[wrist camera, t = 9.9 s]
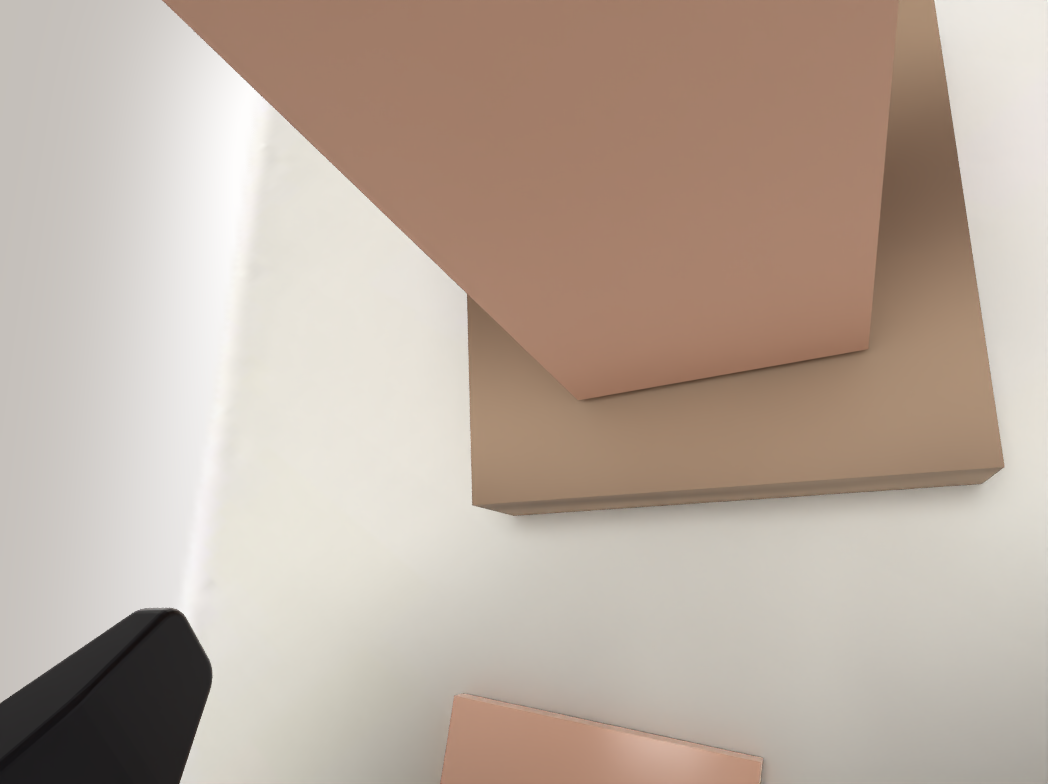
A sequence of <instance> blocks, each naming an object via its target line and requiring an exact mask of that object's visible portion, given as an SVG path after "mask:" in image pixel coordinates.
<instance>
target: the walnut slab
mask: <svg viewBox="0 0 1048 784" xmlns="http://www.w3.org/2000/svg"><path fill="white" fill-rule="evenodd" d="M467 310H468V350H469V389H470V429H471V469H472V505H473V506H477V507H481V508H485V509H489V510H493V511H497V512H501V513H505V514H509V515H513V516H516V515H531V514H546V513H560V512H575V511H590V510H605V509H619V508H634V507H649V506H663V505H678V504H693V503H708V502H722V501H737V500H752V499H766V498H781V497H796V496H811V495H825V494H840V493H855V492H869V491H884V490H899V489H914V488H928V487H943V486H958V485H972V484H982V483H984V482H985V481H986V480H988V479H989V478H990V477H992V476H993V475H994V474H996V473H997V472H998V471H1000V470H1001V469H1002V468H1004V460H1003V454H1002V447H1001V441H1000V434H999V427H998V421H997V414H996V407H995V401H994V394H993V387H992V381H991V374H990V368H989V361H988V354H987V348H986V341H985V334H984V328H983V321H982V315H981V308H980V301H979V295H978V288H977V281H976V275H975V268H974V261H973V255H972V248H971V242H970V235H969V228H968V222H967V215H966V208H965V202H964V195H963V189H962V182H961V175H960V169H959V162H958V155H957V149H956V142H955V135H954V129H953V122H952V116H951V109H950V102H949V96H948V89H947V82H946V76H945V69H944V63H943V56H942V49H941V43H940V36H939V29H938V23H937V16H936V9H935V3H934V0H899V4H898V16H897V27H896V39H895V50H894V62H893V73H892V84H891V96H890V107H889V119H888V130H887V142H886V153H885V165H884V176H883V188H882V199H881V210H880V222H879V233H878V245H877V256H876V268H875V279H874V291H873V302H872V313H871V325H870V336H869V348H868V349H866V350H861V351H855V352H849V353H844V354H838V355H833V356H827V357H821V358H816V359H810V360H804V361H799V362H793V363H787V364H782V365H776V366H770V367H765V368H759V369H753V370H748V371H742V372H736V373H731V374H725V375H719V376H714V377H708V378H702V379H697V380H691V381H685V382H680V383H674V384H668V385H663V386H657V387H651V388H646V389H640V390H634V391H629V392H623V393H617V394H612V395H606V396H600V397H595V398H589V399H584V400H577V399H576V398H575V397H574V396H573V395H572V394H571V393H570V392H569V391H568V390H567V389H566V388H565V387H564V386H563V385H562V384H561V383H559V382H558V381H557V380H556V379H555V378H554V377H553V376H552V375H551V374H550V373H549V372H548V371H547V370H546V369H545V368H544V367H543V366H542V365H541V364H540V363H539V362H538V361H537V360H536V359H535V358H534V357H532V356H531V355H530V354H529V353H528V352H527V351H526V350H525V349H524V348H523V347H522V346H521V345H520V344H519V343H518V342H517V341H516V340H515V339H514V338H513V337H512V336H511V335H510V334H509V333H508V332H506V331H505V330H504V329H503V328H502V327H501V326H500V325H499V324H498V323H497V322H496V321H495V320H494V319H493V318H492V317H491V316H490V315H489V314H488V313H487V312H486V311H485V310H484V309H483V308H482V307H480V306H479V305H478V304H477V303H476V302H475V301H474V300H473V299H472V298H471V297H470V296H469V295H468V294H467Z"/></svg>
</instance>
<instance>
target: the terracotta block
mask: <svg viewBox="0 0 1048 784" xmlns="http://www.w3.org/2000/svg"><path fill="white" fill-rule="evenodd" d="M162 1H164V2H165V3H166V4H167V5H168V6H169V7H170V8H171V9H172V10H173V11H174V12H175V13H176V14H177V15H178V16H179V17H180V18H181V19H182V20H183V21H184V22H185V23H186V24H188V26H190V27H191V28H192V29H193V30H194V31H195V32H196V33H197V34H198V35H199V36H200V37H201V38H202V39H203V40H204V41H205V42H206V43H207V44H208V45H209V46H210V47H211V48H213V50H214V51H216V52H217V53H218V54H219V55H220V56H221V57H222V58H223V59H224V60H225V61H226V62H227V63H228V64H229V65H230V66H231V67H232V68H233V69H234V70H235V71H236V72H237V73H238V74H240V75H241V77H242V78H244V79H245V80H246V81H247V82H248V83H249V84H250V85H251V86H252V87H253V88H254V89H255V90H256V91H257V92H258V93H259V94H260V95H261V96H262V97H263V98H264V99H265V100H266V101H267V102H268V103H270V104H271V105H272V106H273V107H274V108H275V109H276V110H277V111H278V112H279V113H280V114H281V115H282V116H283V117H284V118H285V119H286V120H287V121H288V122H289V123H290V124H291V125H292V126H293V127H294V128H296V129H297V130H298V131H299V132H300V133H301V134H302V135H303V136H304V137H305V138H306V139H307V140H308V141H309V142H310V143H311V144H312V145H313V146H314V147H315V148H316V149H317V150H318V151H319V152H320V153H321V154H323V155H324V156H325V157H326V158H327V159H328V160H329V161H330V162H331V163H332V164H333V165H334V166H335V167H336V168H337V169H338V170H339V171H340V172H341V173H342V174H343V175H344V176H345V177H346V178H347V179H349V180H350V181H351V182H352V183H353V184H354V185H355V186H356V187H357V188H358V189H359V190H360V191H361V192H362V193H363V194H364V195H365V196H366V197H367V198H368V199H369V200H370V201H371V202H372V203H373V204H374V205H376V206H377V207H378V208H379V209H380V210H381V211H382V212H383V213H384V214H385V215H386V216H387V217H388V218H389V219H390V220H391V221H392V222H393V223H394V224H395V225H396V226H397V227H398V228H399V229H400V230H402V231H403V232H404V233H405V234H406V235H407V236H408V237H409V238H410V239H411V240H412V241H413V242H414V243H415V244H416V245H417V246H418V247H419V248H420V249H421V250H422V251H423V252H424V253H425V254H426V255H427V256H429V257H430V258H431V259H432V260H433V261H434V262H435V263H436V264H437V265H438V266H439V267H440V268H441V269H442V270H443V271H444V272H445V273H446V274H447V275H448V276H449V277H450V278H451V279H452V280H453V281H455V282H456V283H457V284H458V285H459V286H460V287H461V288H462V289H463V290H464V291H465V292H466V293H467V294H468V295H469V296H470V297H471V298H472V299H473V300H474V301H475V302H476V303H477V304H478V305H479V306H480V307H482V308H483V309H484V310H485V311H486V312H487V313H488V314H489V315H490V316H491V317H492V318H493V319H494V320H495V321H496V322H497V323H498V324H499V325H500V326H501V327H502V328H503V329H504V330H505V331H506V332H508V333H509V334H510V335H511V336H512V337H513V338H514V339H515V340H516V341H517V342H518V343H519V344H520V345H521V346H522V347H523V348H524V349H525V350H526V351H527V352H528V353H529V354H530V355H531V356H532V357H534V358H535V359H536V360H537V361H538V362H539V363H540V364H541V365H542V366H543V367H544V368H545V369H546V370H547V371H548V372H549V373H550V374H551V375H552V376H553V377H554V378H555V379H556V380H557V381H558V382H559V383H561V384H562V385H563V386H564V387H565V388H566V389H567V390H568V391H569V392H570V393H571V394H572V395H573V396H574V397H575V398H576V399H577V400H584V399H589V398H595V397H600V396H606V395H612V394H617V393H623V392H629V391H634V390H640V389H646V388H651V387H657V386H663V385H668V384H674V383H680V382H685V381H691V380H697V379H702V378H708V377H714V376H719V375H725V374H731V373H736V372H742V371H748V370H753V369H759V368H765V367H770V366H776V365H782V364H787V363H793V362H799V361H804V360H810V359H816V358H821V357H827V356H833V355H838V354H844V353H849V352H855V351H861V350H866V349H868V348H869V336H870V325H871V313H872V302H873V291H874V279H875V268H876V256H877V245H878V233H879V222H880V210H881V199H882V188H883V176H884V165H885V153H886V142H887V130H888V119H889V107H890V96H891V84H892V73H893V62H894V50H895V39H896V27H897V16H898V4H899V0H162Z"/></svg>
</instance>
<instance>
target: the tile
mask: <svg viewBox="0 0 1048 784" xmlns="http://www.w3.org/2000/svg"><path fill="white" fill-rule="evenodd" d="M762 764H763V758H762V757H757V756H752V755H748V754H743V753H738V752H734V751H729V750H724V749H720V748H715V747H711V746H706V745H701V744H697V743H692V742H687V741H683V740H678V739H673V738H669V737H664V736H659V735H655V734H650V733H646V732H641V731H636V730H632V729H627V728H622V727H618V726H613V725H608V724H604V723H599V722H595V721H590V720H585V719H581V718H576V717H571V716H567V715H562V714H557V713H553V712H548V711H544V710H539V709H534V708H530V707H525V706H520V705H516V704H511V703H506V702H502V701H497V700H492V699H488V698H483V697H479V696H474V695H469V694H465V693H463V694H459V695H455V696H454V702H453V708H452V714H451V720H450V726H449V733H448V739H447V745H446V751H445V758H444V764H443V770H442V776H441V782H440V784H760V783H761V773H762Z"/></svg>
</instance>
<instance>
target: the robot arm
mask: <svg viewBox="0 0 1048 784" xmlns="http://www.w3.org/2000/svg"><path fill="white" fill-rule="evenodd" d="M211 684H212V667H211V663H210V661H209V658H208V657H207V655H206V653H205V651H204V649H203V648H202V646H201V644H200V642H199V640H198V638H197V637H196V635H195V633H194V631H193V629H192V628H191V626H190V624H189V622H188V620H187V619H186V617H185V616H184V614H183V613H181V612H180V611H179V610H177V609H174V608H145V609H140V610H138V611H135V612H134V613H132V614H131V615H129V616H128V617H126V618H125V619H123V620H122V621H121V622H119V623H117V624H116V625H114V626H113V627H112V628H110V629H109V630H107V631H106V632H104V633H103V634H101V635H100V636H98V637H97V638H96V639H94V640H92V641H91V642H90V643H88V644H87V645H85V646H84V647H82V648H81V649H79V650H78V651H77V652H75V653H73V654H72V655H70V656H69V657H67V658H66V659H65V660H63V661H62V662H60V663H59V664H57V665H56V666H54V667H53V668H51V669H50V670H48V671H47V672H46V673H44V674H43V675H41V676H40V677H38V678H37V679H35V680H34V681H32V682H31V683H29V684H28V685H26V686H25V687H23V688H22V689H21V690H19V691H18V692H16V693H15V694H13V695H12V696H10V697H9V698H7V699H6V700H4V701H3V702H2V703H0V784H179V783H180V780H181V777H182V774H183V771H184V768H185V765H186V762H187V759H188V756H189V753H190V750H191V746H192V743H193V740H194V737H195V734H196V731H197V728H198V725H199V722H200V719H201V716H202V713H203V710H204V707H205V704H206V701H207V698H208V695H209V692H210V688H211Z"/></svg>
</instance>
